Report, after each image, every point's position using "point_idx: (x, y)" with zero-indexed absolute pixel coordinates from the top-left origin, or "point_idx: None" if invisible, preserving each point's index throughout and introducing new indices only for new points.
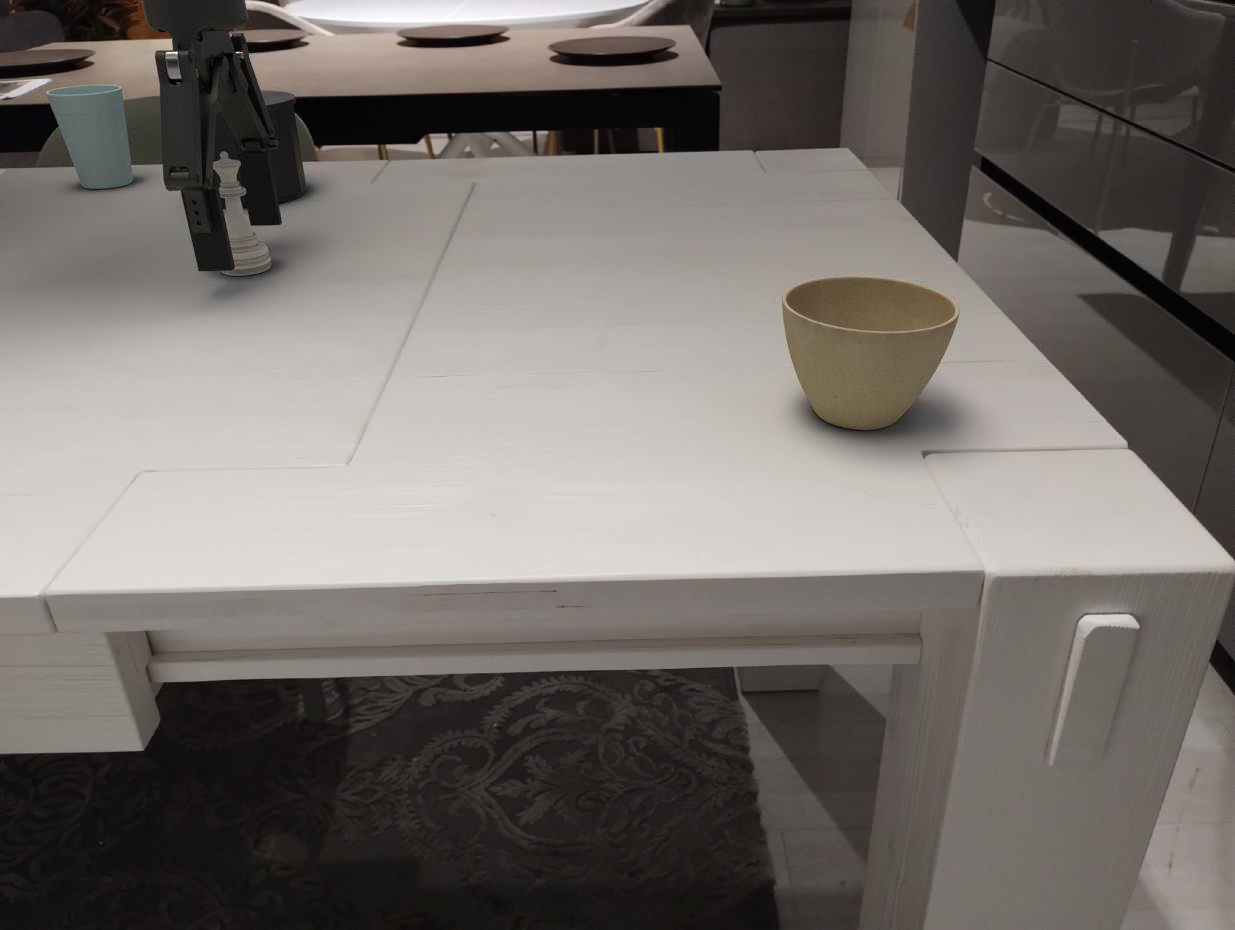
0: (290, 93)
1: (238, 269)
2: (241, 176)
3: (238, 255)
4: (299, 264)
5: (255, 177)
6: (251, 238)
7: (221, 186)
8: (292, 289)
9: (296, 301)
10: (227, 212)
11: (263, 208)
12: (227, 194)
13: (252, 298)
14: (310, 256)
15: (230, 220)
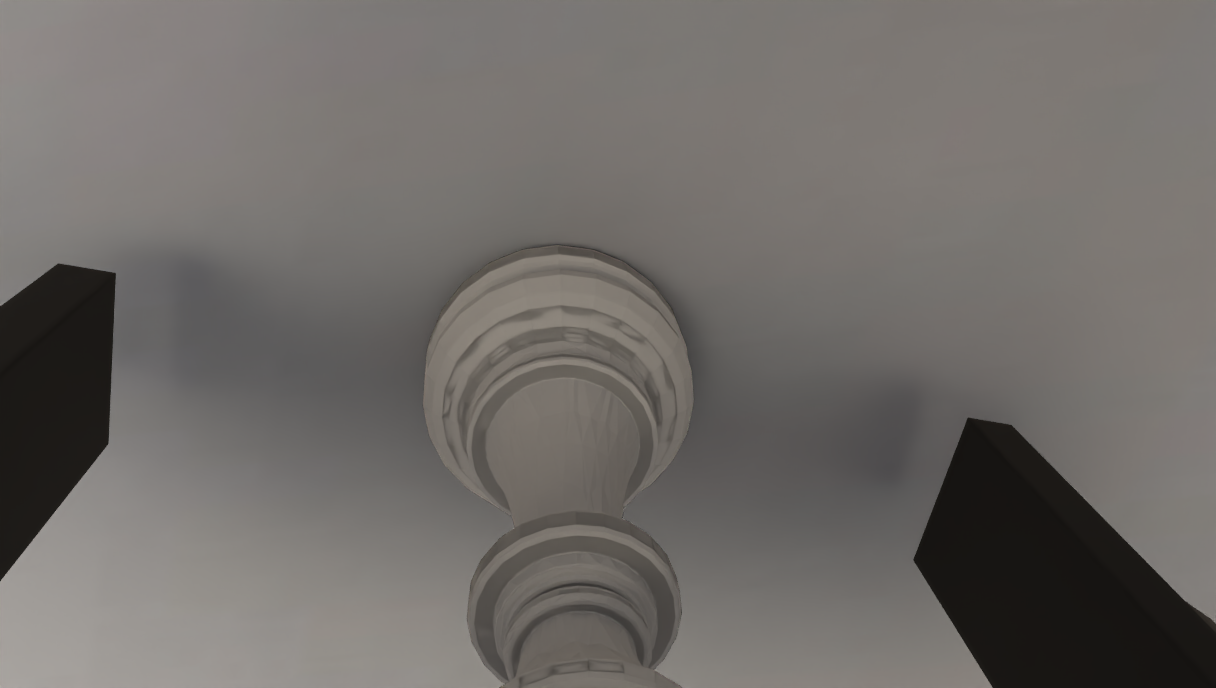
0: None
1: (427, 365)
2: (1122, 592)
3: (431, 407)
4: None
5: (1081, 667)
6: (501, 508)
7: (587, 581)
8: (194, 585)
9: (20, 614)
10: (545, 488)
11: (978, 552)
12: (468, 605)
13: None
14: (685, 612)
15: (516, 477)
